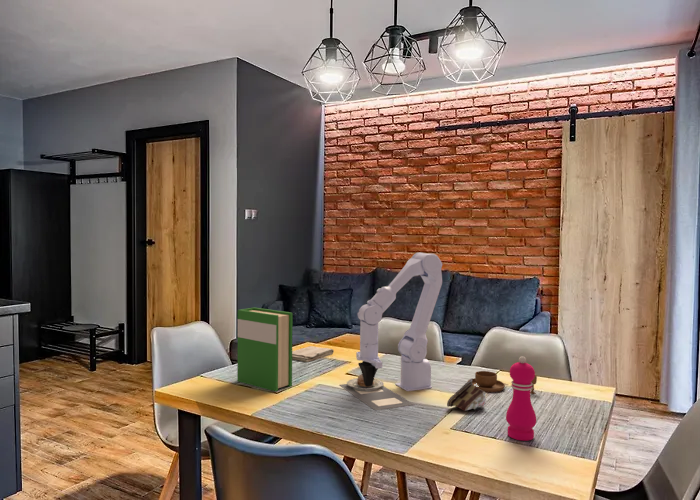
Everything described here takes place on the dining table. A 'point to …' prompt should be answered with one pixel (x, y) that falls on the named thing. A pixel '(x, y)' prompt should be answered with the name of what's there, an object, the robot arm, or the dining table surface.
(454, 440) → the dining table surface
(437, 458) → the dining table surface
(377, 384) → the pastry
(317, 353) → the washcloth
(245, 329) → the hardback book
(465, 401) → the chocolate cake
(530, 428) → the pepper mill
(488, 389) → the place setting
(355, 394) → the label panel
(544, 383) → the dining table surface
